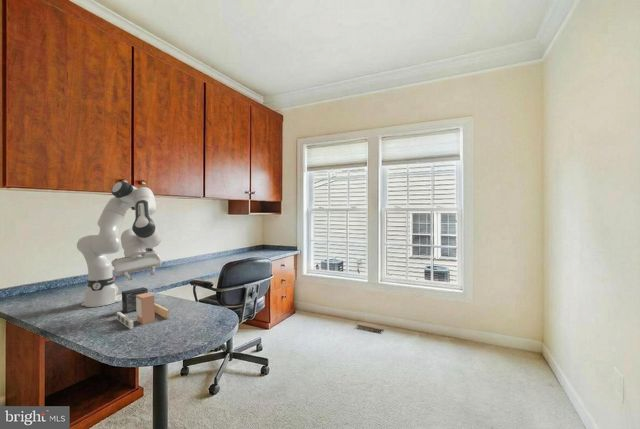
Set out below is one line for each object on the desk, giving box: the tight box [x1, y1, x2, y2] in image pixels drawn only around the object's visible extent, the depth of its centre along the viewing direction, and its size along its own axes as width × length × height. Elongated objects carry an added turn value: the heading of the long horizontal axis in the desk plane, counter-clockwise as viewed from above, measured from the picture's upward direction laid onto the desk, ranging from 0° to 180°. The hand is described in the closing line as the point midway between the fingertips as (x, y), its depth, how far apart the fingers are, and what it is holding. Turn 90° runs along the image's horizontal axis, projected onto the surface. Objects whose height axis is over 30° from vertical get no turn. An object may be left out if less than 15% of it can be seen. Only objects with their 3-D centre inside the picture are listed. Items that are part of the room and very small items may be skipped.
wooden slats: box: [116, 302, 170, 330], centre depth 138 cm, size 20×16×4 cm
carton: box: [135, 292, 156, 325], centre depth 135 cm, size 5×8×12 cm, turn 50°
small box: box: [121, 286, 149, 314], centre depth 152 cm, size 11×6×10 cm, turn 141°
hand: (142, 276), depth 141 cm, fingers open, 8 cm apart
